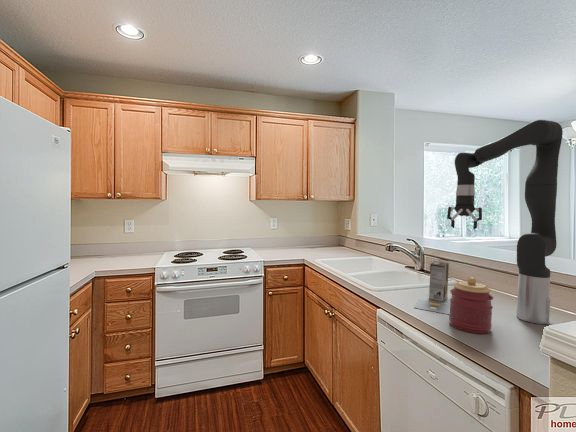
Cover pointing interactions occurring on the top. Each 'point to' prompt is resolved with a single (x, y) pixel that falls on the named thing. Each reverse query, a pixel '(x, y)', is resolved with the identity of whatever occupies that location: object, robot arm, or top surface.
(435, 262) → the coffee box
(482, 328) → the canister
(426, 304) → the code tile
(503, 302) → the top surface
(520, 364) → the top surface
